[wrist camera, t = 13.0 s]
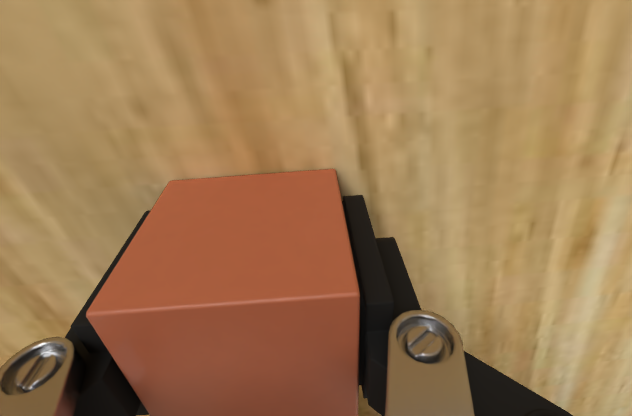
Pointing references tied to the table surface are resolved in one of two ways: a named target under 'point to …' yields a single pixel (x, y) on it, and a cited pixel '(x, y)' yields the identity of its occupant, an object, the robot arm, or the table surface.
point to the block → (238, 300)
